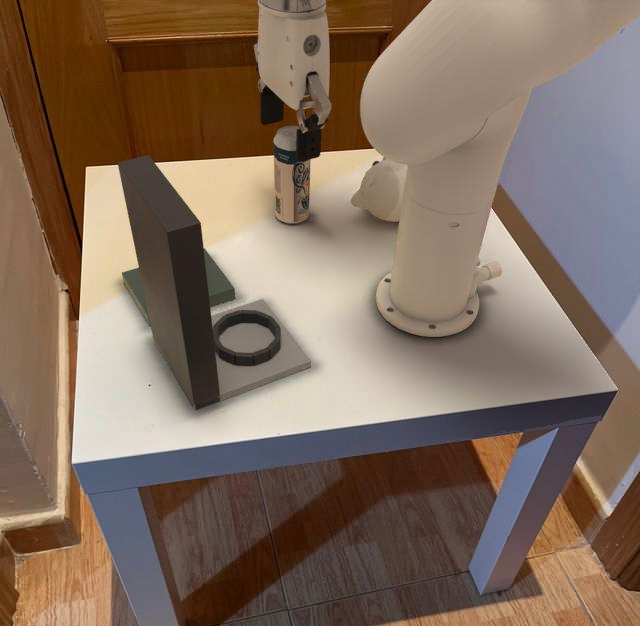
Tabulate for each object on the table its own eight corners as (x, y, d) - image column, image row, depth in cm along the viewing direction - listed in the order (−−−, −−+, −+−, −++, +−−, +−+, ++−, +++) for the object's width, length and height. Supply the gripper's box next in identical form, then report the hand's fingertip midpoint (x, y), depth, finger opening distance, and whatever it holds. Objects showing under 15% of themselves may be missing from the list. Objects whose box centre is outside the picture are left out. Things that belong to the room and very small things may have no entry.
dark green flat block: (205, 259, 89) (203, 235, 86) (235, 299, 84) (233, 276, 81) (123, 283, 85) (118, 260, 83) (150, 327, 80) (145, 303, 78)
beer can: (304, 228, 94) (306, 145, 85) (271, 223, 94) (269, 139, 85) (312, 209, 97) (314, 126, 88) (279, 204, 98) (278, 121, 88)
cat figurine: (456, 134, 93) (363, 145, 87) (477, 188, 92) (384, 202, 86) (421, 173, 102) (334, 185, 96) (440, 222, 101) (353, 238, 95)
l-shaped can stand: (263, 304, 84) (256, 129, 67) (311, 367, 77) (317, 189, 60) (153, 341, 79) (117, 162, 62) (194, 411, 72) (166, 232, 55)
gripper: (363, 14, 71) (349, 166, 84) (285, -42, 80) (284, 104, 93) (299, 25, 69) (295, 181, 82) (226, -34, 78) (233, 115, 91)
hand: (289, 139), depth 88 cm, fingers open, 9 cm apart
